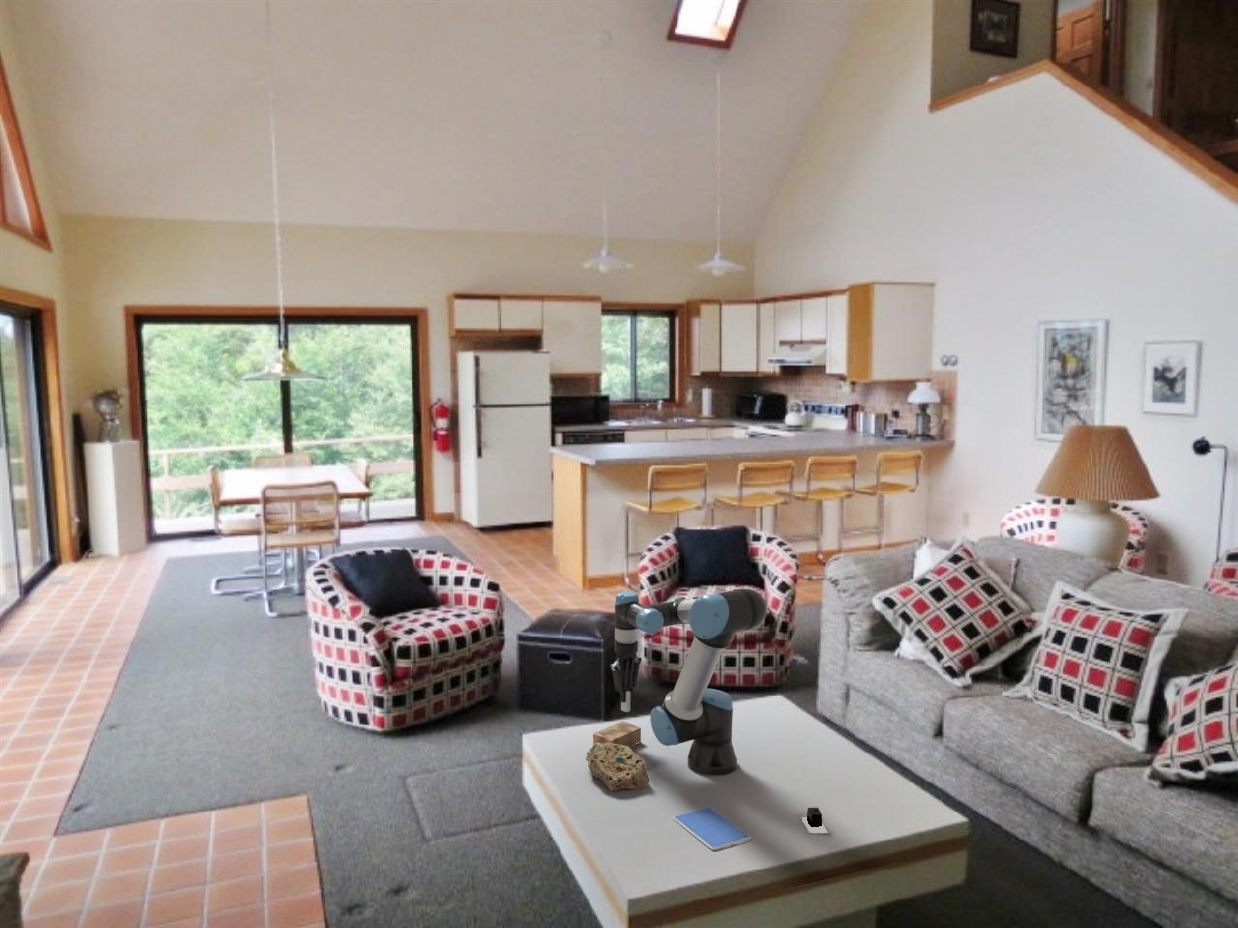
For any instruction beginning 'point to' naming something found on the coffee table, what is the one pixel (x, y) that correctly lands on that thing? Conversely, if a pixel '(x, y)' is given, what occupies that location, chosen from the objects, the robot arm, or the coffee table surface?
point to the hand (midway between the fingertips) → (625, 710)
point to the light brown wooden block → (619, 734)
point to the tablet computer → (711, 828)
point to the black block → (814, 817)
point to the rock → (617, 766)
